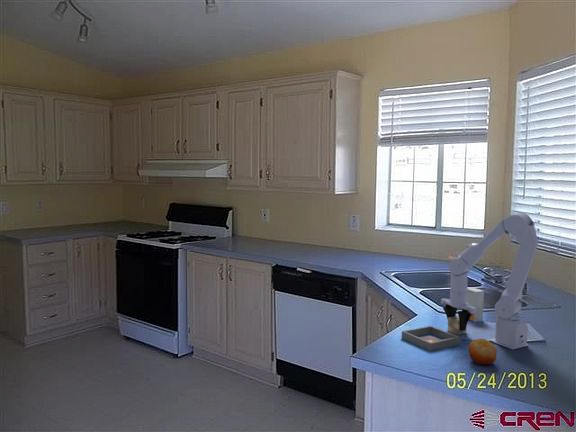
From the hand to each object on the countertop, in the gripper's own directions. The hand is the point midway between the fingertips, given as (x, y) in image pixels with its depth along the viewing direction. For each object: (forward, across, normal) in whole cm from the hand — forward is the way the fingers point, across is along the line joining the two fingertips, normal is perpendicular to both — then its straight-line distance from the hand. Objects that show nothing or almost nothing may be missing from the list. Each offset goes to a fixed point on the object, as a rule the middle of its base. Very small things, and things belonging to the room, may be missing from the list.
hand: (457, 328), depth 175 cm
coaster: (+1, -3, +16) cm, 16 cm away
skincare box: (+2, +8, -18) cm, 20 cm away
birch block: (+1, 0, 0) cm, 1 cm away
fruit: (+2, -24, +16) cm, 29 cm away
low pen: (+1, -3, +16) cm, 16 cm away
